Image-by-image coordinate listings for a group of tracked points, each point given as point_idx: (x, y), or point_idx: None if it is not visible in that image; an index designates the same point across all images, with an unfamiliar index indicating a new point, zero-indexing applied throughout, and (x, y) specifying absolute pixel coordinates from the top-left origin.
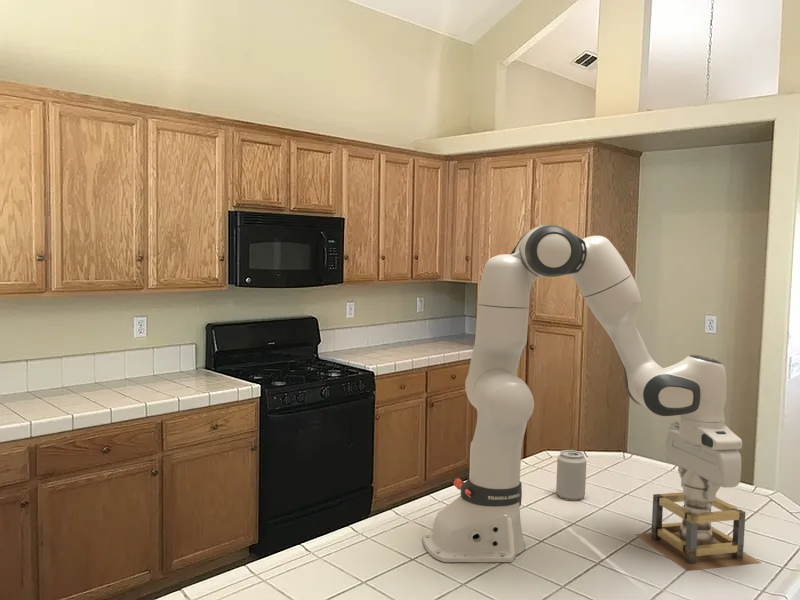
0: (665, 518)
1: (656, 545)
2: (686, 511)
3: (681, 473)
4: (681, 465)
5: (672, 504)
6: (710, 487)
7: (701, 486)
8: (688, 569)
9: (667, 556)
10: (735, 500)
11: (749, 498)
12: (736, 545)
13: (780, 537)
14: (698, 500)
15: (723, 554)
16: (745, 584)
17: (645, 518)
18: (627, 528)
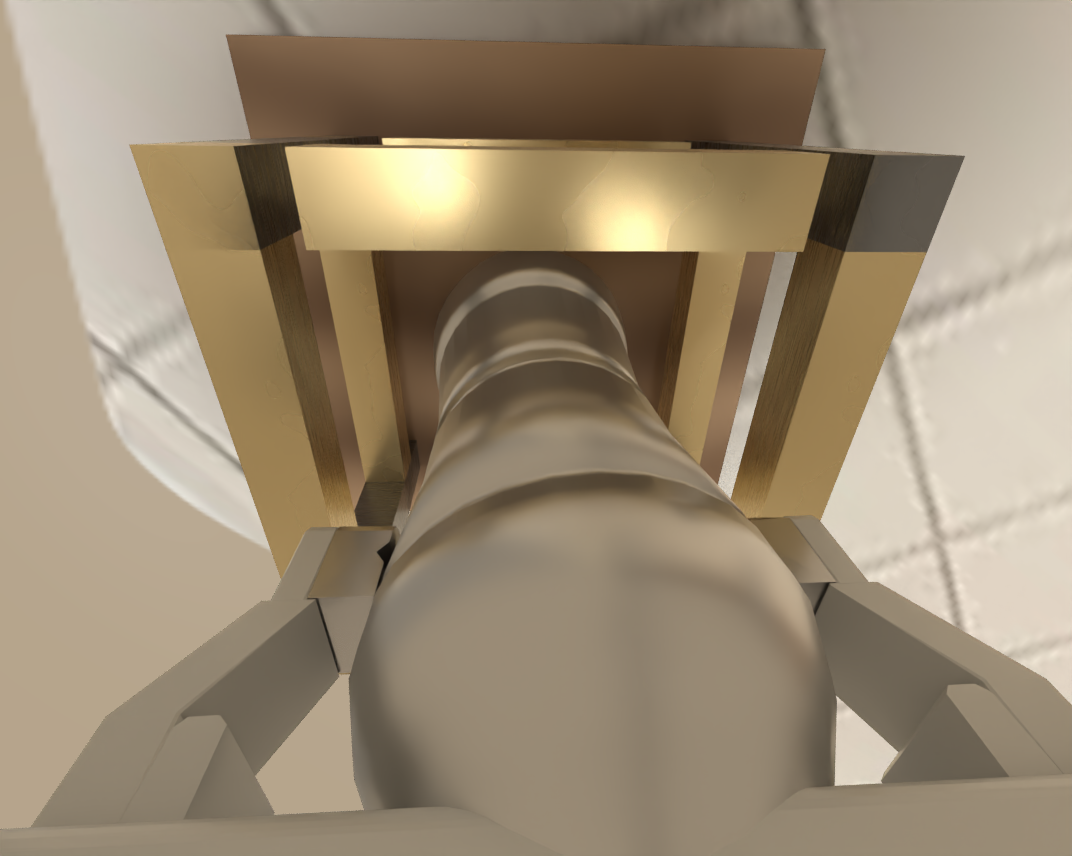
0: (908, 436)
1: (621, 93)
2: (318, 196)
3: (936, 658)
4: (1059, 835)
5: (578, 175)
6: (167, 690)
7: (368, 623)
8: (248, 63)
9: (449, 46)
10: (865, 729)
11: (851, 762)
12: (365, 476)
13: None
14: (435, 462)
15: (438, 416)
16: (180, 332)
17: (972, 340)
18: (951, 128)
